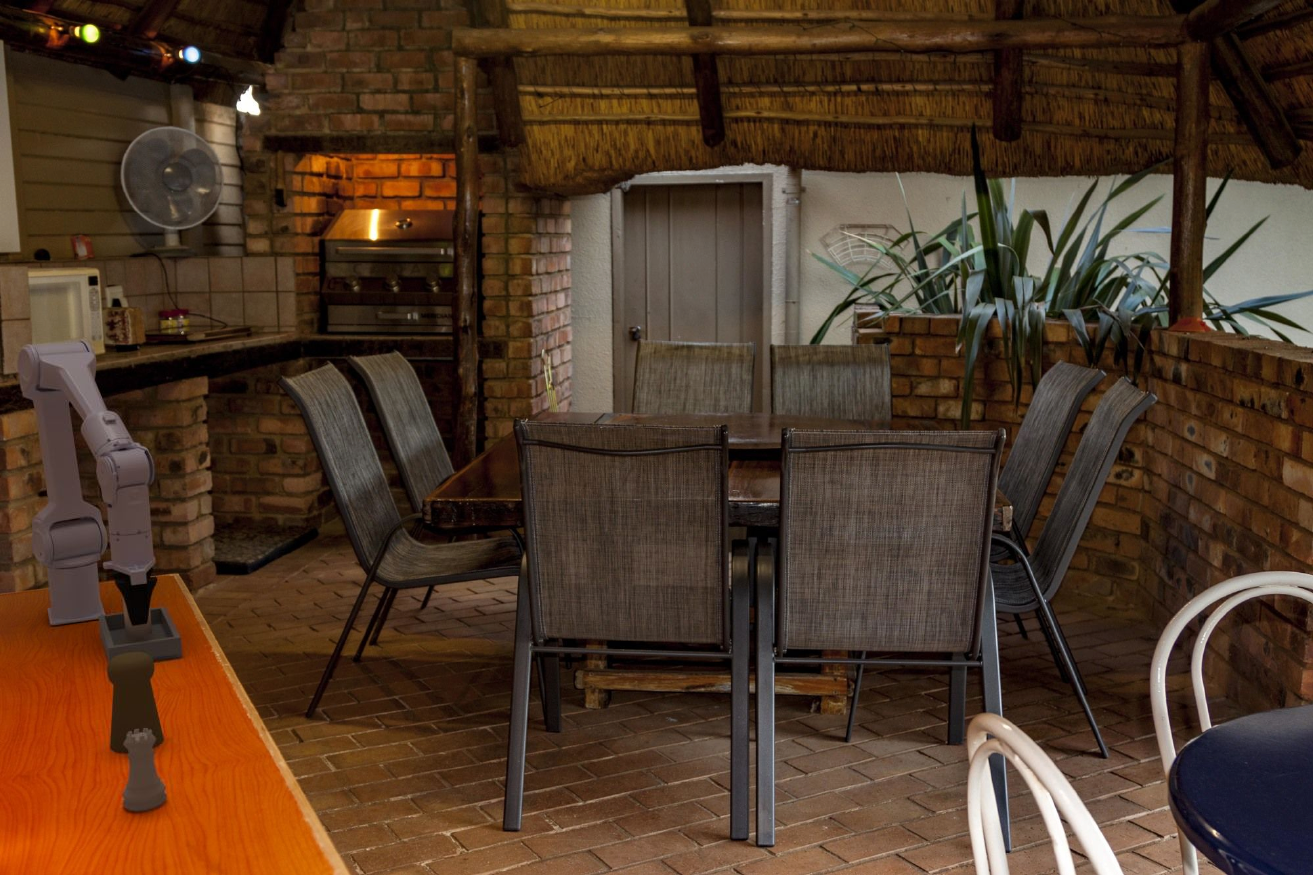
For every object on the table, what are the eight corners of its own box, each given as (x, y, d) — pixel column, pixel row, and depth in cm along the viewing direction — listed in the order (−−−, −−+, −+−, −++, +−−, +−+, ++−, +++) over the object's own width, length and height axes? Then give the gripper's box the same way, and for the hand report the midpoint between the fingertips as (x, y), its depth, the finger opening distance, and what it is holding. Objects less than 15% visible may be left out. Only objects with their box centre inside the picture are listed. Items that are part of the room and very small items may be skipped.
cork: (151, 753, 147) (144, 663, 145) (100, 753, 147) (92, 663, 145) (172, 732, 153) (165, 646, 151) (123, 733, 153) (115, 646, 151)
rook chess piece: (122, 816, 131) (116, 744, 129) (122, 799, 135) (116, 728, 134) (168, 808, 133) (162, 736, 131) (166, 791, 137) (160, 721, 135)
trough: (100, 634, 191) (98, 615, 191) (166, 624, 196) (165, 606, 195) (110, 668, 176) (108, 648, 175) (182, 657, 180) (180, 637, 180)
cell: (124, 632, 186) (120, 586, 185) (150, 628, 188) (146, 583, 187) (127, 639, 183) (123, 592, 182) (153, 635, 185) (149, 589, 184)
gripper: (96, 524, 188) (104, 611, 190) (104, 544, 175) (113, 638, 177) (147, 518, 191) (154, 604, 193) (158, 538, 178) (166, 630, 180)
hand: (137, 620), depth 185 cm, fingers open, 4 cm apart
